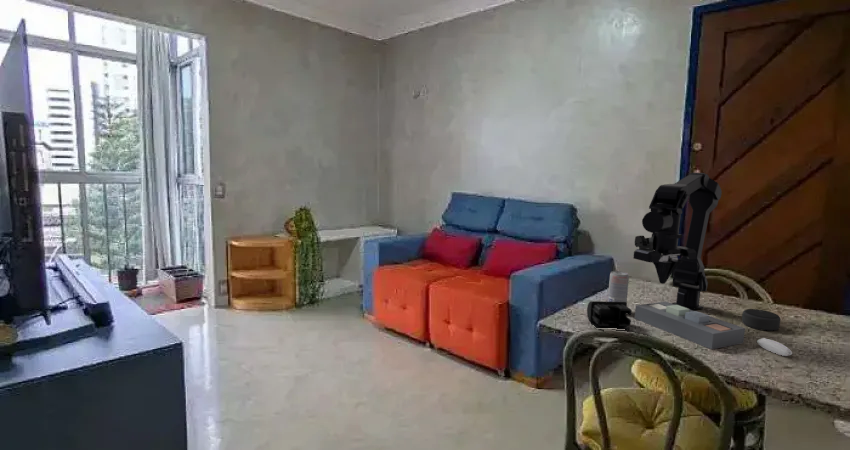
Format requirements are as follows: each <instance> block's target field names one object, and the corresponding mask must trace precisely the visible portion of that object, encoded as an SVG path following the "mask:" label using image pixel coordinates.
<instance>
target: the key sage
mask: <svg viewBox="0 0 850 450" xmlns="http://www.w3.org/2000/svg"><path fill="white" fill-rule="evenodd" d="M666 312H668V313H671V314H674V315H676V316H685V313H686V312H689V309H688V308H685V307H682V306H679V305H671V306H667V307H666Z"/></svg>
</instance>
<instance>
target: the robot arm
mask: <svg viewBox="0 0 850 450" xmlns="http://www.w3.org/2000/svg"><path fill="white" fill-rule="evenodd" d="M722 193H723V192H722V188H721V186H720V184H719V183H718V182H717V181H715V180H714V179H712V178H711V177H709V174H708V173H704V172H691V173H688V174H687V176H685V177H683V178H681V179H680V180H678V181H677V182H674V183H665V184H661V185H659V186H658V187H657V189H656V190H655V192H654V194H653V197H652V199H651V201H650V204H649V206H648V209H649V210H650V211H648V212H647V213H646V214H644V215H643V218H642V219H641V220H642V221H641V223H642V227H643V229H644V230H645V231H647V232H649V233H651V236H650V237H645V236H644V235H637V236H635V238H634V246H635V247H636V249H635V250H634V251H633V257H632V258H633V260H634V259H635V260H638V261H642V262H646V263H652V264H653V266H654V268H655V270H656V273H657V278H658V282H659V284H662V285H664V284H666V282H667V281H668V280H669V278H672V286H674V287H677V293H676V302H672V304H675V305H679V306H682V307H685V308H688V309H690V310H693V311H695V310H701V309H704V306H703V305H700V301H701V300H700V298H701V292H707V289H708V284H709V282H708V279H707V276H706V273H705V269H706V268H705V265H704V262H703V261H702V254H703V248H704V243H705V237H706V233H707V232H706V231H707V227H708V223H709V218H710V214H711V213H712V211H714V210H715V208H717V207H718V204H719V200H721V197H722ZM687 202H688V203H689V205H690V207H691V210H692V212H691V218H690V223H689V227H688V231H687V239H686V243H685V246H682V245H681V246H680V245H678V243H679V239H682V238H683V234H680V223H681V214H683V209H684V207H685V205H686V204H687ZM678 257H680V258H678ZM671 275H672V277H671Z"/></svg>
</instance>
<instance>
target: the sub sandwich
mask: <svg viewBox="0 0 850 450" xmlns="http://www.w3.org/2000/svg"><path fill="white" fill-rule="evenodd" d="M756 343H757V344H758V346H760V347H761V348H763V349H764V350H766V351H769V352H770V351H771V352H770V353H773V354H775V353H776V354H775V355H779V356H781V355H782V356H783V357H788V356H791V355H793V351H792V350H791V349H790V348H789V347H787V346H786V345H785V344H783V343H781V342H779V341H776V340H773V339H768V338H765V337H762V338H758V339H757V340H756Z"/></svg>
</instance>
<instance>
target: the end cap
mask: <svg viewBox="0 0 850 450" xmlns="http://www.w3.org/2000/svg"><path fill="white" fill-rule="evenodd" d="M632 312H633V311H632V309H630V308H629V307H628V301H627V302H608V301H603V300H602V301H601V300H600V301H598V300H596V301H595V300H594V301H593V300H591V301H589V302H588V304H587V309H586V315H587V318H588V321H589V323H590V325H591V326H592V325H594V326H595V327H596V328H617V329H625V330H624V331H630V327H629V326H631V323H632V320H631V319H630V318H629V317H628V316H627V315H629V316H632V314H633V313H632ZM595 327H594V328H595ZM596 328H595V329H596Z"/></svg>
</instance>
